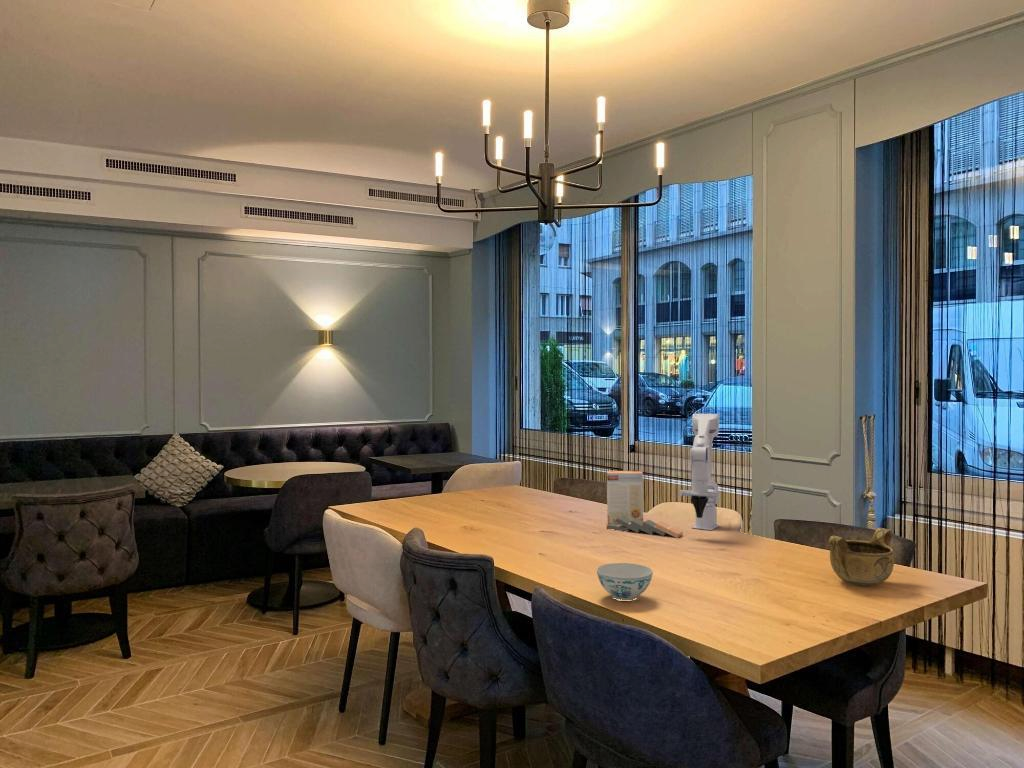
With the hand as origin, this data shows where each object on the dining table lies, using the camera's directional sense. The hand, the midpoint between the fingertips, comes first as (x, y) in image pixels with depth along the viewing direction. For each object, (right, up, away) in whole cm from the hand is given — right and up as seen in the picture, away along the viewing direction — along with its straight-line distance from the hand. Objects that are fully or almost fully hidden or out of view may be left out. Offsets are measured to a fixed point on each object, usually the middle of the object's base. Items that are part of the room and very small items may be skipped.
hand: (699, 517), depth 278 cm
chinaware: (-37, -10, -70) cm, 80 cm away
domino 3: (-10, -7, +7) cm, 14 cm away
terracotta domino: (-6, -7, +4) cm, 10 cm away
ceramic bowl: (+32, -10, -57) cm, 66 cm away
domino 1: (-19, -7, +12) cm, 24 cm away
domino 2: (-14, -7, +10) cm, 19 cm away
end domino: (-23, -7, +15) cm, 28 cm away
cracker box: (-23, -8, +27) cm, 36 cm away
